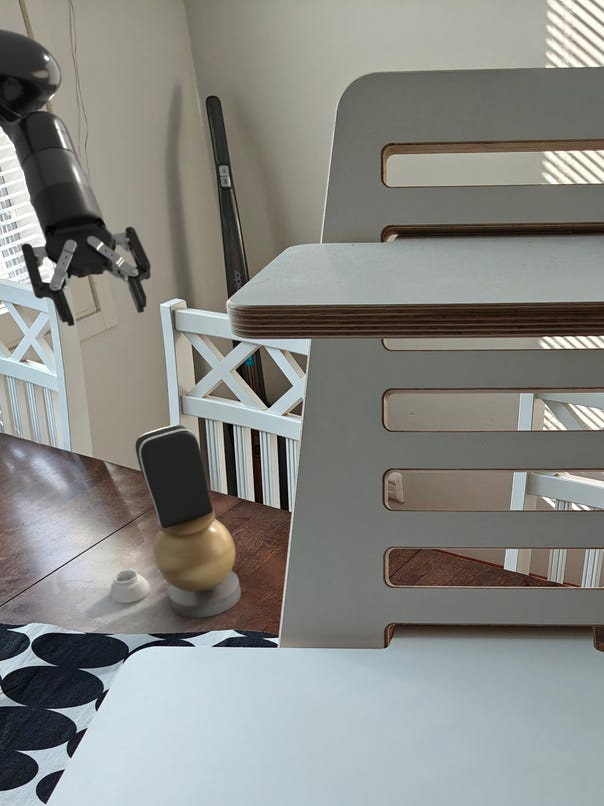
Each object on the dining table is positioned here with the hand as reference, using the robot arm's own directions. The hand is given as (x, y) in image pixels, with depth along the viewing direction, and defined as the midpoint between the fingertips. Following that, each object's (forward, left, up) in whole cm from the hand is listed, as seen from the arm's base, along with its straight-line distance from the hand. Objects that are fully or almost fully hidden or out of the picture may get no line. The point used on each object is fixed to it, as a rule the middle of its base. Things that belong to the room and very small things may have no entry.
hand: (106, 316), depth 121 cm
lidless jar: (-3, -14, -32) cm, 35 cm away
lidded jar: (+7, -17, -32) cm, 37 cm away
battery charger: (+7, -17, -20) cm, 27 cm away
